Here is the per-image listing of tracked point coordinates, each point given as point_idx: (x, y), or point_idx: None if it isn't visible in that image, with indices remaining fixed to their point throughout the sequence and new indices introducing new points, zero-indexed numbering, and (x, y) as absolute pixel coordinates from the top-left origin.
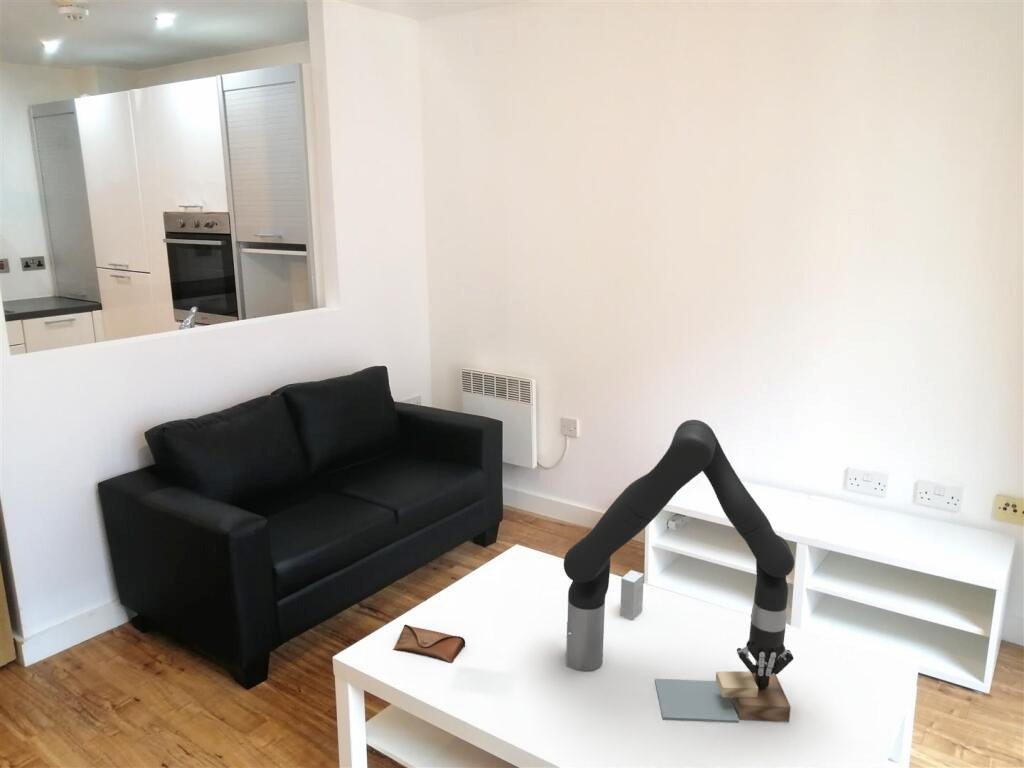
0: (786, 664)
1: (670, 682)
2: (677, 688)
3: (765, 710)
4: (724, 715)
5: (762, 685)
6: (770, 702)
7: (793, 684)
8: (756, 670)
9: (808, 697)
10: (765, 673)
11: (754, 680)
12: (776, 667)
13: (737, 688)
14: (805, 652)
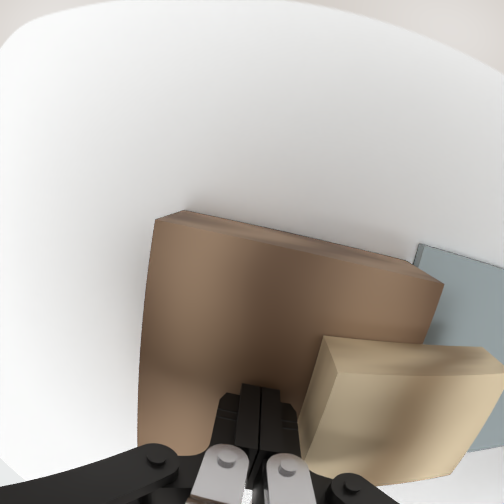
0: (49, 484)
1: (489, 438)
2: (493, 418)
3: (307, 247)
4: (457, 285)
5: (265, 401)
6: (264, 279)
7: (85, 404)
8: (315, 492)
9: (54, 336)
10: (247, 466)
11: (316, 433)
12: (145, 492)
13: (455, 372)
14: (39, 471)
